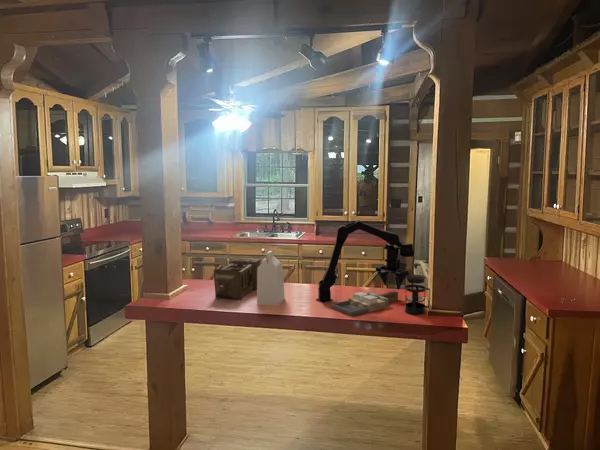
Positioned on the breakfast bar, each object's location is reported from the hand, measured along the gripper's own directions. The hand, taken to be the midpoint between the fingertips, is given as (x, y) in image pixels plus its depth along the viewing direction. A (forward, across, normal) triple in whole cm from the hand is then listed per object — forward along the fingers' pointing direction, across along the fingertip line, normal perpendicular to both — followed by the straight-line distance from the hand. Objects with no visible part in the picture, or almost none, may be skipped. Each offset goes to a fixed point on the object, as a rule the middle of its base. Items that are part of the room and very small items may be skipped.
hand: (391, 287), depth 232 cm
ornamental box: (+7, +56, +62) cm, 84 cm away
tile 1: (+4, +3, +18) cm, 19 cm away
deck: (+7, 0, +17) cm, 18 cm away
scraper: (+7, 0, +3) cm, 7 cm away
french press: (+7, -21, +4) cm, 22 cm away
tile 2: (+4, -4, +18) cm, 19 cm away
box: (+7, 0, +28) cm, 29 cm away
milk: (+7, +34, +51) cm, 62 cm away
